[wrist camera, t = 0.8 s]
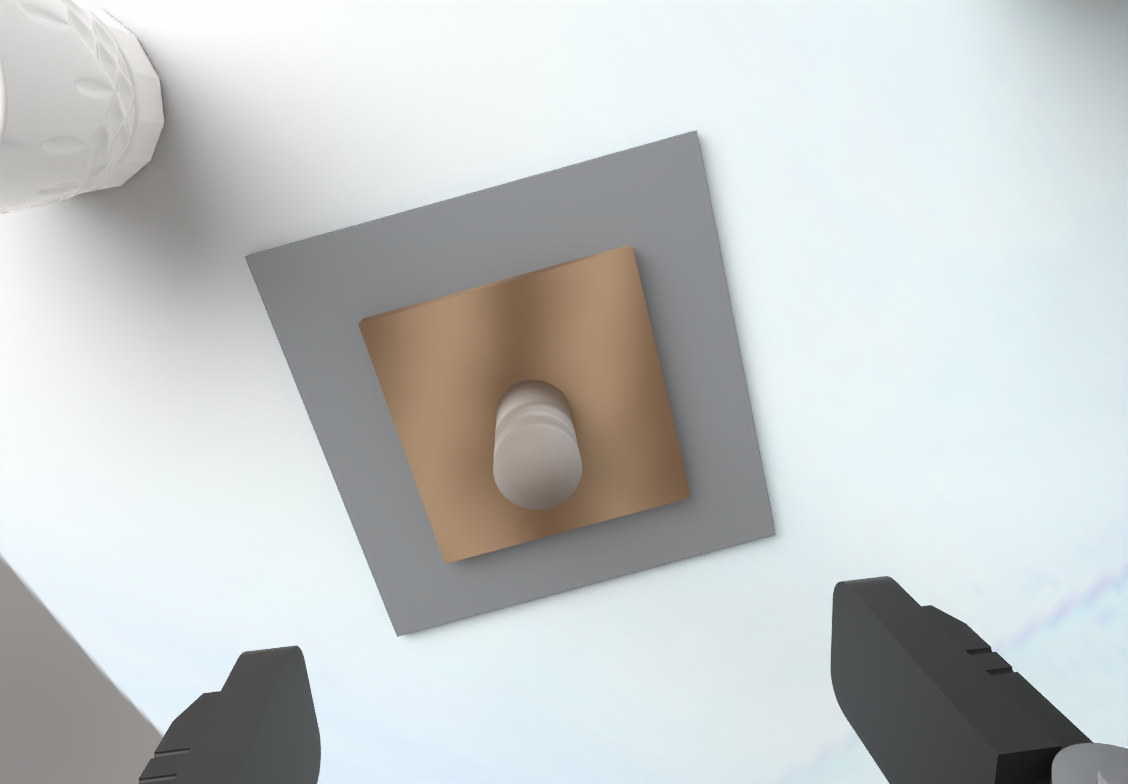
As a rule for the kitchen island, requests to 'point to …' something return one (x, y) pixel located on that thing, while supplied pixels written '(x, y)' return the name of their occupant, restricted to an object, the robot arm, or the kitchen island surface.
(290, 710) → the robot arm
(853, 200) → the kitchen island surface
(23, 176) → the white cup
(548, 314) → the lid
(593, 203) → the mat
